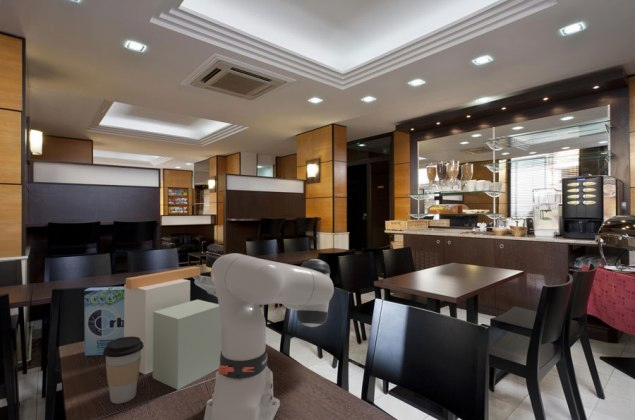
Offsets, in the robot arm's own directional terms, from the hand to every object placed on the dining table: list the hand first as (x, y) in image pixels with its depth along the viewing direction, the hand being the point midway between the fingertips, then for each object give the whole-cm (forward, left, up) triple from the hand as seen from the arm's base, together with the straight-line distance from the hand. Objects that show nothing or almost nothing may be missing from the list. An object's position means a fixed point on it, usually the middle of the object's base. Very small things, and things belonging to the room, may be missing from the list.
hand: (202, 277), depth 128 cm
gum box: (-10, +27, -25) cm, 38 cm away
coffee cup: (-39, +9, -25) cm, 47 cm away
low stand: (-25, -4, -24) cm, 35 cm away
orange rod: (-14, +8, +2) cm, 16 cm away
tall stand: (-16, +10, -24) cm, 31 cm away
